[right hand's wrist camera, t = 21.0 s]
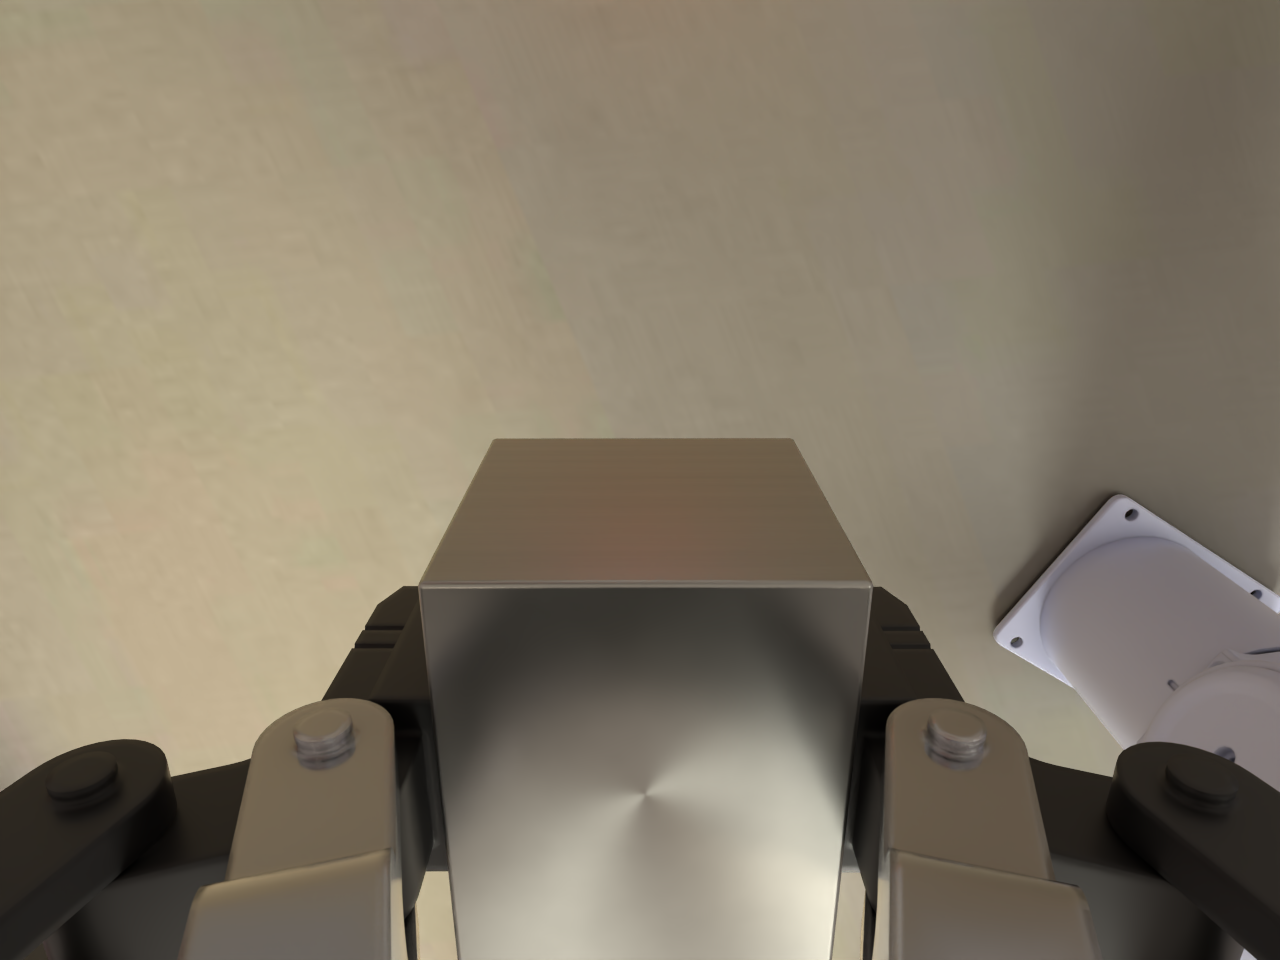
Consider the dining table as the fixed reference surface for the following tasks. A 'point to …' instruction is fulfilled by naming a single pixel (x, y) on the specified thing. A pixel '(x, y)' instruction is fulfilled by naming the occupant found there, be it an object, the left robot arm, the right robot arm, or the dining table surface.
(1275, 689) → the left robot arm
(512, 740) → the block
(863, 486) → the dining table surface
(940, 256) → the dining table surface
